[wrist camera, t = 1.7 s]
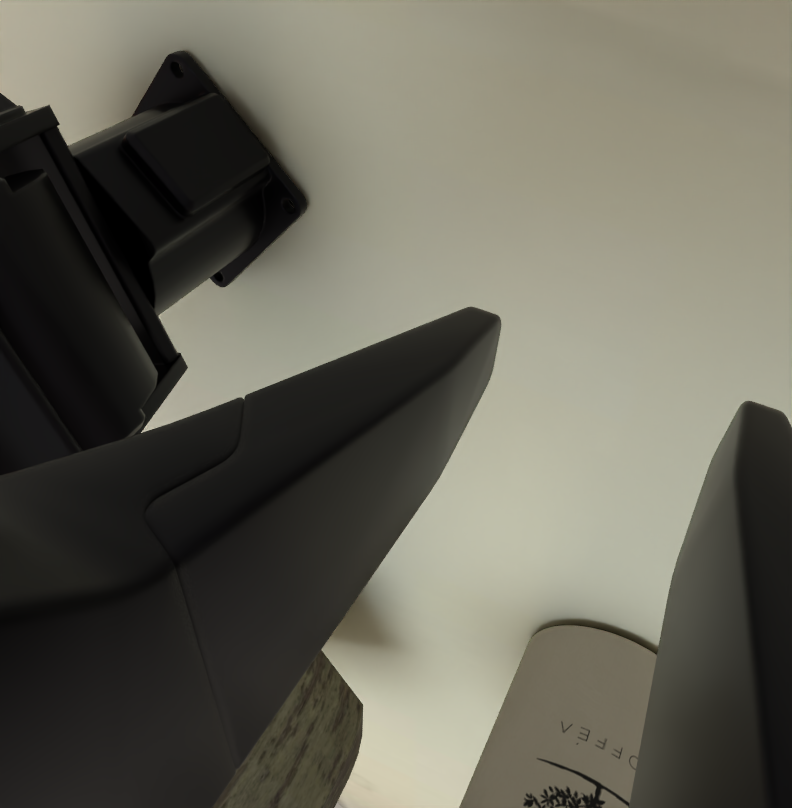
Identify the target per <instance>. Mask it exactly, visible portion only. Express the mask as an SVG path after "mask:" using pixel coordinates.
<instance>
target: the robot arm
mask: <svg viewBox="0 0 792 808" xmlns="http://www.w3.org/2000/svg"><path fill="white" fill-rule="evenodd" d="M179 64H180V65H181V67H182V69H183V72H182V71H181V69H180V67H179ZM58 125H60V124H59V122H58V120H57V118H56V117H55V115H54V113H53V111H52V109H51V107H50V105H48V106H44V107H41V108H38V109H35V110H31V111H28V112H25V111H24V109H23V107H22V106H20V105H19V106H17V105H15V104H14V103H13V102H11V101H10V100H9V99H7V98H6V97H5V96H4V95H2V94H1V93H0V808H212V807H213V806H214V804H215V803H216V801H217V800H218V799H219V797H220V796H221V794H222V793H223V791H224V790H225V788H226V787H227V786H228V784H229V783H230V781H231V780H232V778H233V777H234V775H235V774H236V769H238V768H239V767H240V766H241V765H242V763H243V762H244V760H245V759H246V758H247V756H248V755H249V753H250V752H251V750H252V749H253V747H254V746H255V745H256V743H257V742H258V740H259V739H260V737H261V736H262V734H263V733H264V731H265V730H266V729H267V727H268V726H269V724H270V723H271V721H272V720H273V718H274V717H275V716H276V714H277V713H278V711H279V710H280V708H281V707H282V705H283V704H284V703H285V701H286V700H287V698H288V697H289V695H290V694H291V692H292V691H293V690H294V688H295V687H296V685H297V684H298V682H299V681H300V679H301V678H302V676H303V675H304V674H305V672H306V671H307V669H308V668H309V666H310V665H311V663H312V662H313V661H314V659H315V658H316V656H317V655H318V653H319V652H320V650H321V649H322V648H323V646H324V645H325V643H326V642H327V640H328V639H329V637H330V636H331V635H332V633H333V632H334V630H335V629H336V627H337V626H338V624H339V623H340V622H341V620H342V619H343V617H344V616H345V614H346V613H347V611H348V610H349V608H350V607H351V606H352V604H353V603H354V601H355V600H356V598H357V597H358V595H359V594H360V593H361V591H362V590H363V588H364V587H365V585H366V584H367V582H368V581H369V580H370V578H371V577H372V575H373V574H374V572H375V571H376V569H377V568H378V567H379V565H380V564H381V562H382V561H383V559H384V558H385V556H386V555H387V554H388V552H389V551H390V549H391V548H392V546H393V545H394V543H395V542H396V540H397V539H398V538H399V536H400V535H401V533H402V532H403V530H404V529H405V527H406V526H407V525H408V523H409V522H410V520H411V519H412V517H413V516H414V514H415V513H416V512H417V510H418V509H419V507H420V506H421V504H422V503H423V501H424V500H425V499H426V497H427V496H428V494H429V493H430V491H431V490H432V488H433V487H434V485H435V483H436V482H437V480H438V479H439V477H440V475H441V474H442V472H443V470H444V468H445V466H446V464H447V463H448V461H449V459H450V457H451V455H452V453H453V451H454V449H455V447H456V445H457V443H458V441H459V439H460V437H461V436H462V434H463V432H464V430H465V428H466V426H467V424H468V422H469V420H470V418H471V416H472V414H473V412H474V410H475V408H476V406H477V404H478V402H479V401H480V399H481V397H482V395H483V393H484V391H485V389H486V387H487V385H488V382H489V380H490V377H491V375H492V371H493V367H494V362H495V357H496V351H497V346H498V341H499V336H500V330H501V319H500V317H499V316H498V315H496V314H493V313H490V312H487V311H484V310H481V309H478V308H475V307H467V308H464V309H462V310H459V311H457V312H454V313H452V314H449V315H447V316H444V317H442V318H439V319H437V320H434V321H431V322H429V323H426V324H424V325H421V326H419V327H416V328H414V329H411V330H409V331H406V332H404V333H401V334H399V335H396V336H394V337H391V338H389V339H386V340H384V341H381V342H379V343H376V344H373V345H371V346H368V347H366V348H363V349H361V350H358V351H356V352H353V353H351V354H348V355H346V356H343V357H341V358H338V359H336V360H333V361H331V362H328V363H326V364H323V365H320V366H318V367H315V368H313V369H310V370H308V371H305V372H303V373H300V374H298V375H295V376H293V377H290V378H288V379H285V380H283V381H280V382H278V383H275V384H273V385H270V386H267V387H265V388H262V389H260V390H257V391H255V392H252V393H250V394H247V395H246V396H245V400H244V399H243V398H237V399H234V400H232V401H229V402H227V403H224V404H221V405H219V406H216V407H214V408H211V409H209V410H206V411H203V412H200V413H198V414H195V415H192V416H190V417H187V418H184V419H182V420H179V421H176V422H173V423H171V424H168V425H165V426H162V427H158V428H155V429H152V430H149V431H146V432H143V433H141V432H142V430H143V429H144V428H145V426H146V425H147V423H148V422H149V421H150V419H151V418H152V417H153V415H154V414H155V412H156V411H157V410H158V408H159V407H160V406H161V404H162V403H163V401H164V400H165V399H166V397H167V396H168V395H169V393H170V392H171V390H172V389H173V388H174V386H175V385H176V384H177V382H178V381H179V379H180V378H181V377H182V375H183V374H184V373H185V371H186V370H187V368H188V367H187V365H186V363H185V361H184V359H183V357H182V355H181V353H177V351H176V350H175V348H174V346H173V344H172V342H171V340H170V338H169V336H168V334H167V333H166V331H165V329H164V327H163V325H162V323H161V321H160V319H159V317H158V315H160V314H161V313H162V312H164V311H165V310H166V309H168V308H169V307H170V306H172V305H173V304H174V303H176V302H177V301H179V300H180V299H181V298H183V297H184V296H185V295H187V294H188V293H189V292H191V291H192V290H194V289H195V288H196V287H198V286H199V285H200V284H202V283H203V282H204V281H206V280H207V279H208V278H210V279H211V280H212V281H213V282H214V283H215V284H216V285H218V286H220V287H226V286H227V285H229V284H230V283H231V282H233V281H234V280H235V279H236V278H237V277H238V276H239V275H240V274H241V273H242V272H243V271H244V270H245V269H246V268H247V267H248V266H249V265H250V264H252V263H253V262H254V261H255V260H256V259H257V258H258V257H259V256H260V255H261V254H262V253H263V252H264V251H265V250H266V249H267V248H268V247H269V246H270V245H271V244H272V243H274V242H275V241H276V240H277V239H278V238H279V237H280V236H281V235H282V234H283V233H284V232H285V231H286V230H287V229H288V228H289V227H290V226H291V225H292V224H293V223H295V222H296V221H297V220H298V219H299V218H300V217H301V216H302V215H303V214H304V213H305V211H306V210H307V203H306V199H305V197H304V196H303V194H302V193H301V192H300V190H299V189H298V188H297V187H296V185H295V184H294V183H293V182H292V181H291V179H290V178H289V177H288V176H287V174H286V173H285V172H284V171H283V169H282V168H281V167H280V166H279V164H278V163H277V162H276V161H275V159H274V158H273V157H272V156H271V155H270V153H269V152H268V151H267V150H266V148H265V147H264V146H263V145H262V143H261V142H260V141H259V140H258V138H257V137H256V136H255V135H254V134H253V132H252V131H251V130H250V129H249V127H248V126H247V125H246V124H245V122H244V121H243V120H242V119H241V117H240V116H239V115H238V114H237V113H236V111H235V110H234V109H233V108H232V106H231V105H230V104H229V103H228V101H227V100H226V99H225V98H224V96H223V95H222V94H221V93H220V92H219V90H218V89H217V88H216V87H215V85H214V84H213V83H212V82H211V80H210V79H209V78H208V77H207V75H206V74H205V73H204V72H203V71H202V69H201V68H200V67H199V66H198V64H197V63H196V62H195V61H194V59H193V58H192V57H191V56H190V55H189V54H188V53H187V52H184V51H177V52H174V53H171V54H169V55H168V56H167V57H166V59H165V60H164V62H163V64H162V66H161V67H160V69H159V71H158V72H157V74H156V76H155V78H154V79H153V81H152V83H151V84H150V86H149V88H148V90H147V91H146V93H145V95H144V97H143V98H142V100H141V102H140V103H139V105H138V107H137V109H136V110H135V112H134V114H133V115H132V117H131V118H129V119H127V120H125V121H123V122H120V123H118V124H116V125H114V126H111V127H109V128H107V129H105V130H103V131H100V132H98V133H96V134H94V135H92V136H89V137H87V138H85V139H83V140H80V141H78V142H76V143H74V144H72V145H69V146H67V144H66V142H65V140H64V138H63V137H62V135H61V133H60V131H59V129H58V127H57V126H58ZM289 200H290V201H291V202H292V203H293V205H294V207H292V206H291V204H290V202H289ZM629 808H792V427H791V425H790V423H789V421H788V419H787V417H786V415H785V414H784V413H783V412H781V411H779V410H776V409H773V408H770V407H767V406H764V405H761V404H758V403H755V402H752V401H745V402H744V403H743V404H741V406H740V407H739V409H738V411H737V412H736V414H735V416H734V418H733V420H732V422H731V424H730V425H729V427H728V429H727V431H726V433H725V435H724V437H723V438H722V440H721V442H720V444H719V446H718V448H717V450H716V452H715V454H714V456H713V458H712V460H711V463H710V465H709V468H708V471H707V474H706V477H705V480H704V483H703V486H702V489H701V491H700V494H699V497H698V500H697V503H696V506H695V509H694V512H693V515H692V518H691V521H690V524H689V527H688V530H687V533H686V535H685V538H684V541H683V544H682V547H681V550H680V553H679V556H678V559H677V562H676V566H675V569H674V573H673V576H672V580H671V585H670V589H669V594H668V599H667V604H666V610H665V615H664V620H663V626H662V631H661V637H660V642H659V647H658V653H657V658H656V664H655V669H654V674H653V680H652V685H651V691H650V696H649V701H648V707H647V712H646V718H645V723H644V728H643V734H642V739H641V745H640V750H639V755H638V761H637V766H636V771H635V777H634V782H633V788H632V793H631V798H630V804H629Z"/></svg>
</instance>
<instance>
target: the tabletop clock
mask: <svg viewBox="0 0 792 808" xmlns="http://www.w3.org/2000/svg"><path fill="white" fill-rule="evenodd" d="M362 724H363V704H362V703H361V701H360V700H359V699H358V698H357V696H356V695H355V694H354V692H353V691H352V690H351V688H350V687H349V686H348V685H347V683H346V682H345V681H344V679H343V678H342V677H341V675H340V674H339V673H338V671H337V670H336V669H335V668H334V666H333V665H332V664H331V662H330V661H329V660H328V658H327V657H326V656H325V654H324V653H323V652H322V651H321V650H320V652H319V653H318V655H317V656H316V658H315V659H314V661H313V662H312V663H311V665H310V666H309V668H308V669H307V671H306V672H305V674H304V675H303V676H302V678H301V679H300V681H299V682H298V684H297V685H296V687H295V688H294V690H293V691H292V692H291V694H290V695H289V697H288V698H287V700H286V701H285V703H284V704H283V705H282V707H281V708H280V710H279V711H278V713H277V714H276V716H275V717H274V718H273V720H272V721H271V723H270V724H269V726H268V727H267V729H266V730H265V731H264V733H263V734H262V736H261V737H260V739H259V740H258V742H257V743H256V745H255V746H254V747H253V749H252V750H251V752H250V753H249V755H248V756H247V758H246V759H245V760H244V762H243V763H242V765H241V766H240V767H239V768H238V769H236V774H235V775H234V777H233V778H232V780H231V781H230V783H229V784H228V786H227V787H226V788H225V790H224V791H223V793H222V794H221V796H220V797H219V799H218V800H217V801H216V803H215V804H214V806H213V807H212V808H334V807H335V805H336V803H337V801H338V799H339V797H340V795H341V793H342V791H343V789H344V787H345V785H346V783H347V781H348V779H349V777H350V774H351V772H352V769H353V767H354V764H355V761H356V759H357V756H358V753H359V748H360V743H361V739H362Z"/></svg>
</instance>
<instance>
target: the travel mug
mask: <svg viewBox="0 0 792 808" xmlns="http://www.w3.org/2000/svg"><path fill="white" fill-rule="evenodd" d="M656 658H657V655H656V654H655V653H653V652H651V651H650V650H648V649H646V648H644V647H643V646H641V645H639V644H637V643H635V642H633V641H630V640H628V639H626V638H623V637H621V636H618V635H615V634H613V633H610V632H606V631H603V630H599V629H595V628H590V627H584V626H573V625H563V626H554V627H549V628H546V629H543V630H541V631H539V632H538V633H536V634H535V635H534V636H533V637H532V638H531V639H530V641H529V643H528V645H527V647H526V650H525V652H524V655H523V657H522V659H521V662H520V664H519V667H518V669H517V671H516V674H515V676H514V678H513V681H512V683H511V686H510V688H509V690H508V693H507V695H506V698H505V700H504V702H503V705H502V707H501V709H500V712H499V714H498V717H497V719H496V721H495V724H494V726H493V729H492V731H491V733H490V736H489V738H488V740H487V743H486V745H485V748H484V750H483V752H482V755H481V757H480V760H479V762H478V764H477V767H476V769H475V771H474V774H473V776H472V779H471V781H470V783H469V786H468V788H467V791H466V793H465V795H464V798H463V800H462V802H461V805H460V807H459V808H629V804H630V798H631V793H632V788H633V782H634V777H635V771H636V766H637V761H638V755H639V750H640V745H641V739H642V734H643V728H644V723H645V718H646V712H647V707H648V701H649V696H650V691H651V685H652V680H653V674H654V669H655V664H656Z"/></svg>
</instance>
